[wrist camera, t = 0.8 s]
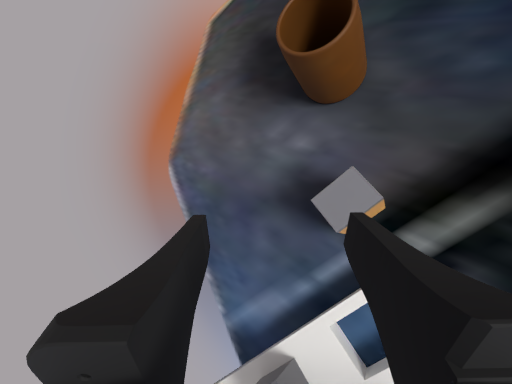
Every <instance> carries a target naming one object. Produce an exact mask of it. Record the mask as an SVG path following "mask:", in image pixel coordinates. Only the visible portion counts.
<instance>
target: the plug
mask: <svg viewBox="0 0 512 384" xmlns="http://www.w3.org/2000/svg"><path fill="white" fill-rule="evenodd" d="M311 201H312V202H313V204H314V205H315V206H316V207H317V209H318V210H319V211H320V212H321V214H322V215H323V216H324V217H325V219H326V220H327V221H328V222H329V224H330V225H331V226H332V227H333V229H334V230H335V231H336V232H337V233H343V234H346V230H347V225H348V220H349V215H350V212H363V213H365V214H366V215H368V216H369V217H370V218H372V217H373V216H375V215H376V214H377V213H379V212H380V211H382V210H383V209H384V208H385V204H384V199H383V197H382V196H381V195H380V194H379V193H378V192H377V190H376V189H375V188H374V187H373V186H372V185H371V184H370V183H369V182H368V181H367V180H366V179H365V178H364V177H363V176H362V175H361V174H360V173H359V172H358V171H357V170H356V169H355V168H354V167H353V166H352V167H351V168H349V169H348V170H347V171H346V172H344V173H343V174H342V175H341V176H340V177H338V178H337V179H336V180H335V181H333V182H332V183H331V184H330V185H329V186H327V187H326V188H325V189H324V190H322V191H321V192H320V193H319V194H318V195H316V196H315V197H314V198H313V199H311Z"/></svg>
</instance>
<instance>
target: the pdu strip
mask: <svg viewBox="0 0 512 384" xmlns="http://www.w3.org/2000/svg"><path fill="white" fill-rule="evenodd" d="M366 303H367V300H366V298H365V296H364V293H363V291H362V289H361V288H359V289H358V290H356V291H355V292H353V293H352V294H350V295H349V296H347V297H346V298H344V299H342V300H341V301H339V302H338V303H336V304H335V305H333V306H332V307H330V308H329V309H327V310H326V311H324V312H323V313H321V314H320V315H318V316H317V317H315V318H314V319H312V320H310V321H309V322H307V323H306V324H304V325H303V326H301V327H300V328H298V329H297V330H295V331H294V332H292V333H291V334H289V335H288V336H286V337H285V338H283V339H282V340H280V341H278V342H277V343H275V344H274V345H272V346H271V347H269V348H268V349H266V350H265V351H263V352H262V353H260V354H259V355H257V356H256V357H254V358H253V359H251V360H249V361H248V362H246V363H245V364H243V365H242V366H240V367H239V368H237V369H236V370H234V371H233V372H232V373H230V374H228V375H227V376H225V377H224V378H222V379H221V380H219V381H217V382H216V383H214V384H394V382H393V378H392V375H391V372H390V368H389V365H388V361H387V358H384V359H382V360H380V361H378V362H377V363H375V364H373V365H371V366H369V367H366V366H365V364H364V363H363V361H362V360H361V358H360V357H359V355H358V354H357V352H356V351H355V349H354V348H353V346H352V345H351V343H350V342H349V340H348V339H347V337H346V336H345V334H344V333H343V331H342V330H341V328H340V327H339V326H338V324H337V323H336V322H337V321H339V320H340V319H342V318H344V317H345V316H347V315H348V314H350V313H351V312H353V311H355V310H356V309H358V308H359V307H361V306H362V305H364V304H366Z"/></svg>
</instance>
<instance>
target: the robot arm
mask: <svg viewBox="0 0 512 384" xmlns="http://www.w3.org/2000/svg"><path fill="white" fill-rule="evenodd" d="M344 247H345V251H346V254H347V257H348V260H349V263H350V265H351V268H352V270H353V272H354V274H355V276H356V278H357V281H358V283H359V285H360V287H361V289H362V291H363V293H364V296H365V298H366V300H367V302H368V305H369V307H370V309H371V312H372V315H373V318H374V321H375V323H376V326H377V329H378V332H379V335H380V339H381V342H382V345H383V348H384V351H385V354H386V358H387V361H388V365H389V368H390V372H391V375H392V378H393V382H394V384H512V294H510V293H507V292H505V291H502V290H500V289H497V288H495V287H492V286H490V285H487V284H485V283H482V282H480V281H478V280H475V279H473V278H471V277H468V276H466V275H464V274H462V273H460V272H458V271H456V270H453V269H451V268H449V267H447V266H445V265H443V264H441V263H440V262H438V261H436V260H434V259H432V258H431V257H429V256H427V255H425V254H423V253H422V252H420V251H418V250H417V249H415V248H414V247H412V246H410V245H409V244H407V243H406V242H404V241H403V240H401V239H400V238H398V237H397V236H395V235H394V234H393V233H391V232H390V231H388V230H387V229H386V228H384V227H383V226H381V225H380V224H379V223H377V222H376V221H375V220H373V219H372V218H370V217H369V216H368V215H366V214H365V213H363V212H350V215H349V220H348V225H347V230H346V235H345V240H344ZM209 250H210V242H209V235H208V228H207V221H206V215H193V216H192V217H191V218H190V219H189V220H188V221H187V222H186V223H185V225H184V226H183V227H182V228H181V229H180V230H179V231H178V232H177V233H176V234H175V235H174V236H173V237H172V238H171V239H170V241H168V242H167V243H166V244H165V245H164V246H163V247H162V248H161V249H160V250H159V251H158V252H157V253H156V254H154V255H153V256H152V257H151V258H150V259H148V260H147V261H146V262H145V263H143V264H142V265H141V266H139V267H138V268H137V269H135V270H134V271H132V272H131V273H129V274H128V275H126V276H125V277H123V278H122V279H121V280H119V281H118V282H116V283H114V284H113V285H111V286H109V287H108V288H106V289H104V290H103V291H101V292H99V293H97V294H95V295H94V296H92V297H90V298H88V299H86V300H84V301H82V302H80V303H78V304H76V305H74V306H72V307H70V308H68V309H66V310H64V311H62V312H60V313H58V314H57V315H56V316H55V317H54V319H53V320H52V321H51V323H50V324H49V325H48V326H47V328H46V329H45V330H44V332H43V333H42V334H41V336H40V337H39V338H38V340H37V341H36V342H35V344H34V345H33V347H32V348H31V349H30V351H29V353H28V354H27V356H26V357H27V364H28V366H29V368H30V369H31V371H32V372H33V373H34V374H35V375H36V376H37V377H38V379H39V380H40V381H41V382H42V383H43V384H184V378H185V371H186V363H187V357H188V350H189V344H190V337H191V331H192V325H193V319H194V313H195V309H196V305H197V301H198V297H199V294H200V290H201V286H202V283H203V279H204V276H205V272H206V268H207V264H208V258H209Z"/></svg>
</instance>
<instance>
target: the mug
mask: <svg viewBox="0 0 512 384" xmlns="http://www.w3.org/2000/svg"><path fill="white" fill-rule="evenodd" d="M276 38H277V42H278V45H279V47H280V49H281V51H282V54H283V56H284V58H285V60H286V62H287V63H288V65H289V67H290V68H291V70H292V72H293V74H294V75H295V77H296V79H297V80H298V82H299V83H300V85H301V87H302V89H303V90H304V92H305V93H306V94H307V96H308V97H310V98H311V99H312V100H314V101H316V102H319V103H324V104H329V103H335V102H338V101H341V100H343V99H345V98H347V97H348V96H350V95H351V94H352V93H354V92H355V91H356V90H357V88H358V87H359V86H360V85H361V83H362V81H363V79H364V77H365V74H366V69H367V59H366V51H365V41H364V33H363V25H362V18H361V12H360V8H359V5H358V0H290V1H289V2H288V3H287V4H286V6H285V7H284V9H283V10H282V12H281V14H280V16H279V19H278V22H277V26H276Z"/></svg>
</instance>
